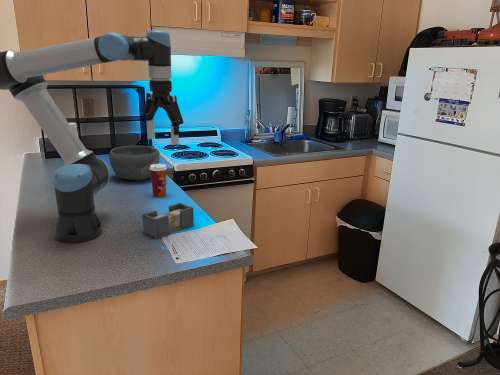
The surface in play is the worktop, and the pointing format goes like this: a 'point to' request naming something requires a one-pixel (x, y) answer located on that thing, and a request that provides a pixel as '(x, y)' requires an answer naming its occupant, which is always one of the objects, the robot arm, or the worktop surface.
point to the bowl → (133, 161)
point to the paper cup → (158, 179)
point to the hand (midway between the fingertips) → (162, 141)
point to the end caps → (167, 221)
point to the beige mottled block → (172, 218)
